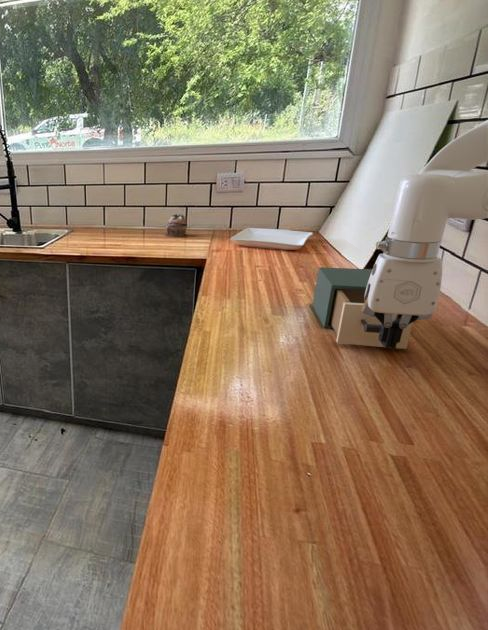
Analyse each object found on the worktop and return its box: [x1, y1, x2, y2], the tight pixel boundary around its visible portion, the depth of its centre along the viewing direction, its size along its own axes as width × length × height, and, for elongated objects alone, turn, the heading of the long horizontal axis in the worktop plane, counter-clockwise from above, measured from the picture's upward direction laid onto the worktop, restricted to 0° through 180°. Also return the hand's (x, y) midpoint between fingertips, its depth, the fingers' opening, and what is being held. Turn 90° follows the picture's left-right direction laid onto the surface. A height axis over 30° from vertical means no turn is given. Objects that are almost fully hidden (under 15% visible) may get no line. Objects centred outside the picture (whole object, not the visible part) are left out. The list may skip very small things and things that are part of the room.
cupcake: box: [165, 213, 188, 238], centre depth 208 cm, size 10×10×10 cm
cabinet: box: [311, 266, 373, 329], centre depth 107 cm, size 16×14×11 cm
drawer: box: [329, 289, 414, 350], centre depth 95 cm, size 19×12×9 cm, turn 162°
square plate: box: [230, 227, 314, 251], centre depth 186 cm, size 27×27×4 cm
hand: (387, 345), depth 84 cm, fingers closed
